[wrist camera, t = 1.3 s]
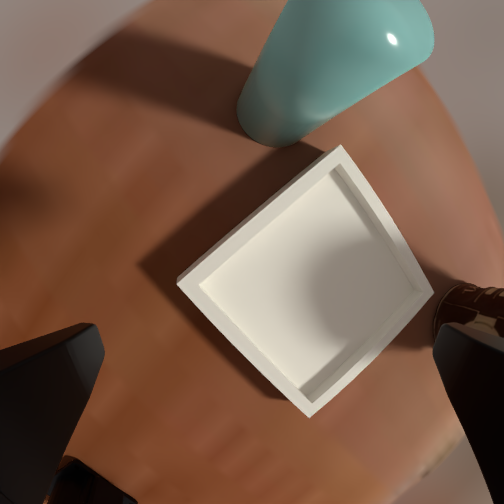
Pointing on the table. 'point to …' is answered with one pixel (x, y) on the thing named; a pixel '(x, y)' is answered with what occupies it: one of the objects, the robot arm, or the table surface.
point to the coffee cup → (472, 309)
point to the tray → (311, 282)
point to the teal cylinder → (328, 63)
